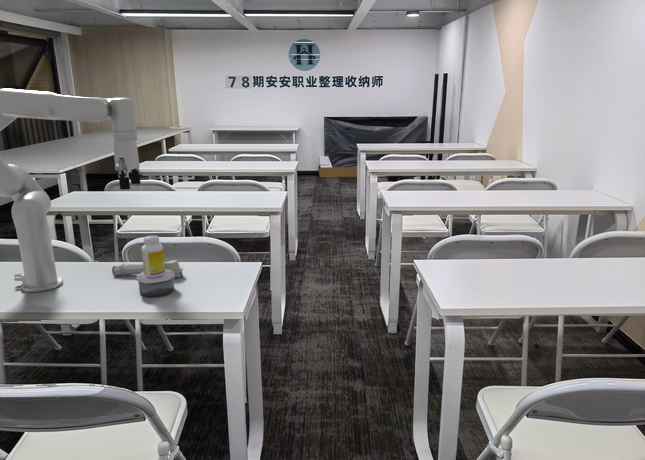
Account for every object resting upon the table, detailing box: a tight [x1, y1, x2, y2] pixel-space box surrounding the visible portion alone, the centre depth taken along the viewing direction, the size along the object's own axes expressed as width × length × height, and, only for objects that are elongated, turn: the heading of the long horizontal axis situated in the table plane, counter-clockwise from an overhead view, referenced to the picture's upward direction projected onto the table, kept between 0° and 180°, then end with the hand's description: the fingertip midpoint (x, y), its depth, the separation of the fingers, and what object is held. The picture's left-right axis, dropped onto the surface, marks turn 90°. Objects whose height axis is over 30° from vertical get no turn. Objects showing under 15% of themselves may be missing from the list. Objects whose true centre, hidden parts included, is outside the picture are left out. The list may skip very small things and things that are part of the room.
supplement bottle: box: [141, 235, 166, 278], centre depth 166 cm, size 7×7×13 cm
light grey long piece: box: [111, 259, 184, 280], centre depth 182 cm, size 5×7×25 cm
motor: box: [135, 269, 175, 299], centre depth 169 cm, size 12×13×6 cm
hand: (130, 186), depth 175 cm, fingers open, 9 cm apart
